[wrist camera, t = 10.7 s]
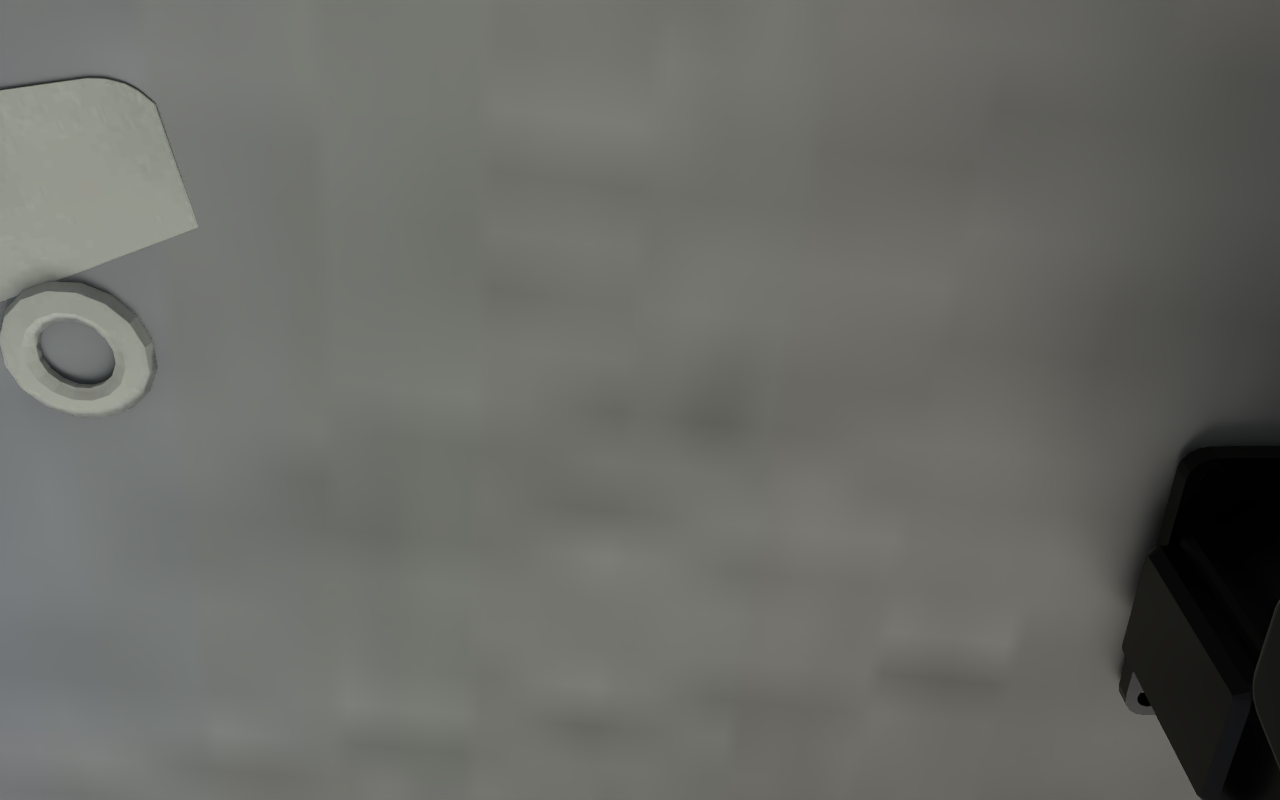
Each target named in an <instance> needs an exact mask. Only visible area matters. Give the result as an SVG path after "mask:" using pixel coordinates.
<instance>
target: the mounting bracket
mask: <svg viewBox="0 0 1280 800" xmlns="http://www.w3.org/2000/svg"><path fill="white" fill-rule="evenodd" d="M197 227H198V225H197V222H196V219H195V216H194V213H193V210H192V207H191V205H190V202H189V199H188V196H187V193H186V190H185V187H184V184H183V182H182V179H181V176H180V173H179V170H178V167H177V164H176V161H175V159H174V156H173V153H172V150H171V147H170V144H169V141H168V138H167V136H166V133H165V130H164V127H163V124H162V121H161V118H160V115H159V113H158V110H157V107H156V104H155V103H154V102H153V101H151V100H150V99H149V98H148V97H146V96H145V95H144V94H143V93H142V92H140V91H139V90H137V89H135V88H133V87H132V86H130V85H128V84H126V83H123V82H119V81H115V80H111V79H107V78H81V79H74V80H67V81H60V82H53V83H46V84H39V85H32V86H24V87H17V88H10V89H3V90H0V302H2V301H4V300H7V299H9V298H12V297H15V296H17V295H18V296H17V297H16V299H15V300H14V301H13V302H12V303H11V304H10V305H9V306H8V307H7V308H6V311H5V315H4V319H3V324H2V328H1V332H0V346H1V350H2V354H3V358H4V362H5V365H6V367H7V368H8V370H9V371H10V372H11V374H12V375H13V377H14V378H15V379H16V381H17V382H18V384H19V385H20V386H21V388H22V389H23V390H25V391H26V392H28V393H29V394H30V395H32V396H33V397H34V398H36V399H37V400H38V401H40V402H41V403H42V404H44V405H45V406H47V407H49V408H52V409H55V410H58V411H60V412H63V413H66V414H69V415H71V416H74V417H94V418H103V417H106V416H109V415H113V414H116V413H119V412H122V411H125V410H128V409H130V408H132V407H134V406H135V405H136V404H137V403H138V402H139V401H140V400H141V399H142V398H143V397H144V396H145V395H146V394H147V393H148V392H150V390H151V386H152V383H153V380H154V377H155V374H156V371H157V362H156V356H155V350H154V344H153V341H152V339H151V337H150V336H149V334H148V333H147V331H146V329H145V328H144V326H143V324H142V323H141V321H140V319H139V318H138V316H137V315H135V314H134V313H133V312H132V311H131V310H129V309H128V308H127V307H126V306H125V305H123V304H122V303H121V302H120V301H119V300H117V299H116V298H115V297H114V296H112V295H110V294H108V293H105V292H103V291H100V290H98V289H95V288H93V287H90V286H88V285H86V284H83V283H76V282H59V281H57V280H60V279H62V278H65V277H68V276H70V275H73V274H76V273H78V272H81V271H84V270H86V269H89V268H92V267H94V266H97V265H100V264H102V263H105V262H107V261H110V260H113V259H115V258H118V257H121V256H123V255H126V254H129V253H131V252H134V251H137V250H139V249H142V248H145V247H147V246H150V245H152V244H155V243H158V242H160V241H163V240H166V239H168V238H171V237H174V236H176V235H179V234H182V233H184V232H187V231H189V230H192V229H195V228H197ZM60 321H69V322H78V323H81V324H83V325H86V326H88V327H91V328H93V329H94V330H95V331H97V332H98V333H99V334H100V335H102V336H103V337H104V338H105V339H106V341H107V342H108V344H109V345H110V347H111V348H112V350H113V353H114V358H115V363H116V364H115V368H114V371H113V375H112V376H111V377H110V378H109V379H108V380H107V381H103V382H100V383H97V384H94V385H93V384H78V383H76V382H73V381H71V380H68V379H65V378H63V377H62V376H61V375H59V374H58V373H57V372H56V371H54V370H53V369H52V368H51V367H50V366H49V364H48V363H47V361H46V360H45V358H44V357H43V355H42V351H41V347H40V338H41V334H42V331H43V330H44V329H45V328H46V327H47V326H48V325H51V324H54V323H57V322H60Z"/></svg>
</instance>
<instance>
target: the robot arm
mask: <svg viewBox="0 0 1280 800" xmlns="http://www.w3.org/2000/svg"><path fill="white" fill-rule="evenodd" d="M1214 469H1217V470H1216V472H1215V474H1214V475H1212V476H1211V477H1209V478H1208V479H1204V480H1199V479H1200V478H1201V476H1202V475H1203V474H1204V473H1206V472H1207V471H1209V470H1214ZM1122 649H1123V652H1124V654H1125V656H1126V660H1125V664H1124V668H1123V672H1122V675H1121V679H1120V683H1119V691H1120V694H1121V696H1122V698H1123V700H1124V702H1125V704H1126V705H1127V707H1128V709H1129V710H1130V711H1132V712H1134V713H1136V714H1142V715H1156V716H1157V718H1158V720H1159V722H1160V724H1161V726H1162V728H1163V730H1164V732H1165V734H1166V736H1167V738H1168V739H1169V741H1170V743H1171V745H1172V747H1173V749H1174V751H1175V753H1176V755H1177V757H1178V759H1179V761H1180V763H1181V765H1182V767H1183V769H1184V771H1185V772H1186V774H1187V776H1188V778H1189V780H1190V782H1191V784H1192V786H1193V788H1194V790H1195V792H1196V794H1197V795H1198V796H1199V797H1200V798H1201V799H1202V800H1280V446H1218V447H1204V448H1199V449H1197V450H1195V451H1193V452H1191V453H1189V454H1188V455H1187V456H1186V457H1185V458H1184V459H1183V460H1182V461H1181V463H1180V465H1179V467H1178V468H1177V472H1176V476H1175V479H1174V483H1173V487H1172V490H1171V494H1170V498H1169V501H1168V505H1167V509H1166V513H1165V516H1164V520H1163V524H1162V527H1161V531H1160V535H1159V538H1158V542H1157V546H1155V547H1154V548H1153V549H1152V550H1151V551H1150V553H1149V554H1148V555H1147V556H1146V558H1145V562H1144V566H1143V570H1142V573H1141V577H1140V581H1139V585H1138V588H1137V592H1136V596H1135V600H1134V604H1133V607H1132V611H1131V615H1130V619H1129V622H1128V626H1127V630H1126V634H1125V637H1124V641H1123V645H1122ZM1143 691H1144V692H1143ZM1141 692H1143V693H1141Z"/></svg>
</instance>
